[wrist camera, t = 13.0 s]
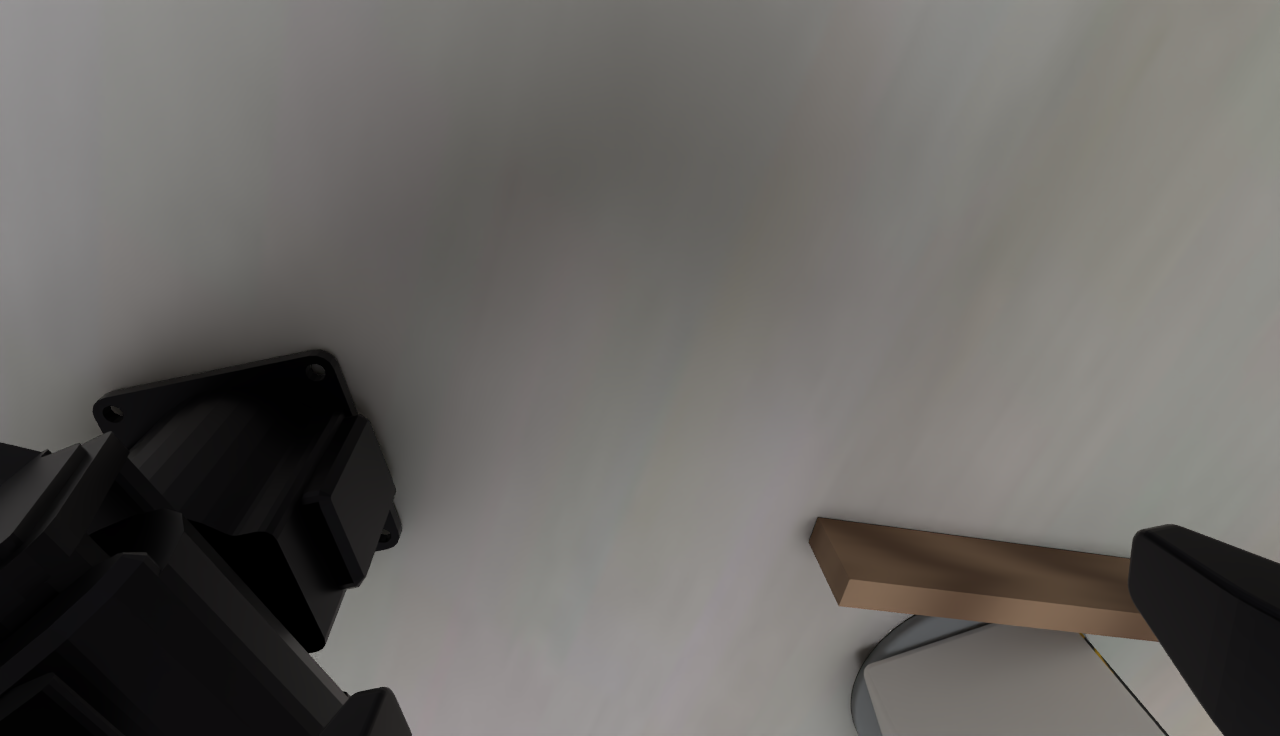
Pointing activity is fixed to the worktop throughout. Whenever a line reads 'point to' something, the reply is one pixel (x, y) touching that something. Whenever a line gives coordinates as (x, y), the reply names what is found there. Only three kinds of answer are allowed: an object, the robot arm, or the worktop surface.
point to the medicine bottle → (1005, 688)
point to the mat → (897, 642)
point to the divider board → (976, 579)
